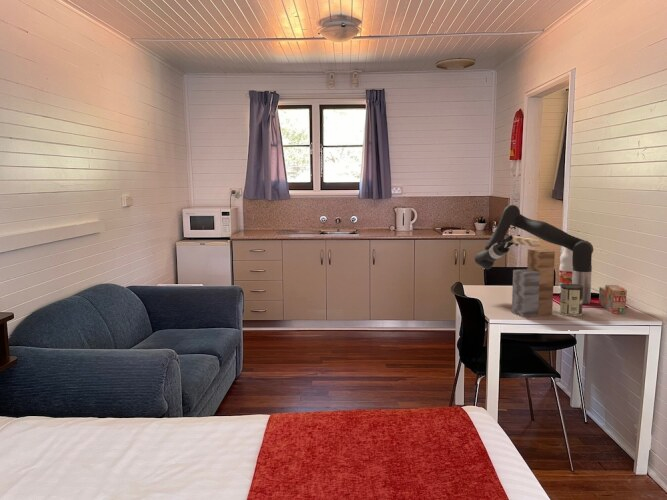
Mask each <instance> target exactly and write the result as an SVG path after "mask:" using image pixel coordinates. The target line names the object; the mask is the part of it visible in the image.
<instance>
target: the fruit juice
mask: <svg viewBox="0 0 667 500" xmlns="http://www.w3.org/2000/svg"><path fill="white" fill-rule="evenodd" d="M572 257H573V251H571V250H569V249H568V248H566V247H564V248H563V252H562V254H561V255H560V257H559V261H560V264H559V269H558V290H560V291H561V285H562V284H572V273H573V266H572Z"/></svg>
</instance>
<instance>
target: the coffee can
mask: <svg viewBox="0 0 667 500" xmlns="http://www.w3.org/2000/svg"><path fill="white" fill-rule="evenodd" d="M583 288H584V287H583V286H582V285H577V284H562V285H561V290H560V304H559V305H560V307H559V314H561V315H565V316H569V317H570V316H571V317H579V316H583V304H582V303H583Z"/></svg>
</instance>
